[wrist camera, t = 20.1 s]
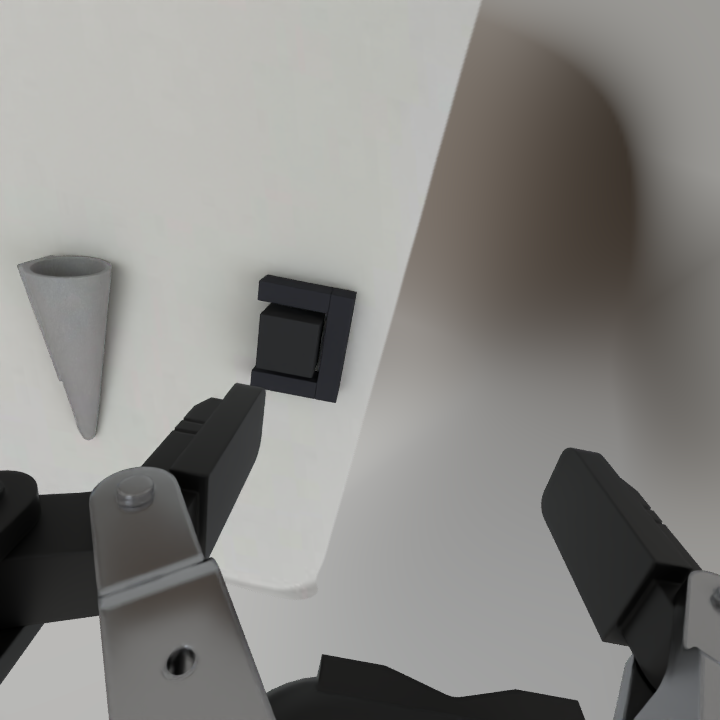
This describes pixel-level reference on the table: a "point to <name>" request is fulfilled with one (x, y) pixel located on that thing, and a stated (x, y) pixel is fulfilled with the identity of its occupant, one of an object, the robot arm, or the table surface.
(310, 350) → the matte black cube
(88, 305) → the long tapered cone
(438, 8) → the table surface
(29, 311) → the table surface
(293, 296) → the dark u-shaped bracket
